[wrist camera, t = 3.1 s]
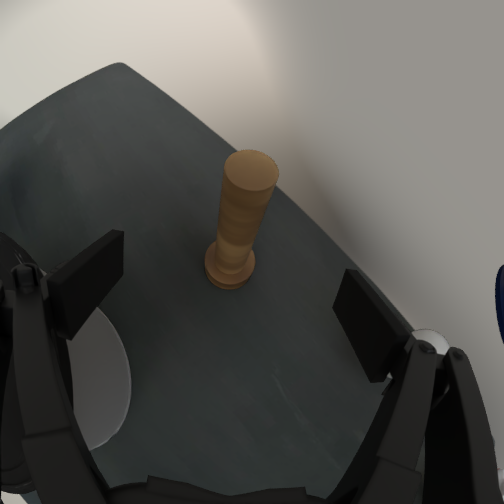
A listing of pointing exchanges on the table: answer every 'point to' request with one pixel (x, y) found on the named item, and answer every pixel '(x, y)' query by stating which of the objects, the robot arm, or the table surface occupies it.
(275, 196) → the table surface
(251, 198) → the wooden pestle
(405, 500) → the robot arm
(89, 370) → the container
